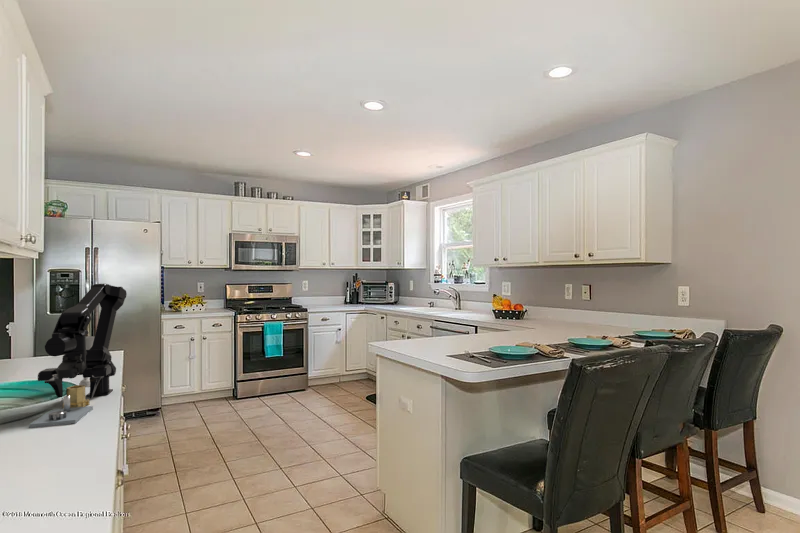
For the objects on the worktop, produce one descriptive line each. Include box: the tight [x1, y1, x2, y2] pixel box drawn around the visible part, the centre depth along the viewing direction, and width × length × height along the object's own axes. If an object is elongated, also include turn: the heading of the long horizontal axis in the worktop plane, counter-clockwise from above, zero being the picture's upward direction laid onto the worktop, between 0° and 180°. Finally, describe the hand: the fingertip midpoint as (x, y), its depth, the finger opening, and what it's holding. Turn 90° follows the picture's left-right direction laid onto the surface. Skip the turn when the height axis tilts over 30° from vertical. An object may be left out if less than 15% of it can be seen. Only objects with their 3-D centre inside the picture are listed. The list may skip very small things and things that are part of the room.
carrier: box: [29, 395, 94, 429], centre depth 138 cm, size 14×11×6 cm
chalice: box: [78, 335, 95, 388], centre depth 177 cm, size 7×7×18 cm
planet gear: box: [62, 384, 90, 409], centre depth 151 cm, size 7×7×6 cm
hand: (76, 399), depth 151 cm, fingers open, 8 cm apart
